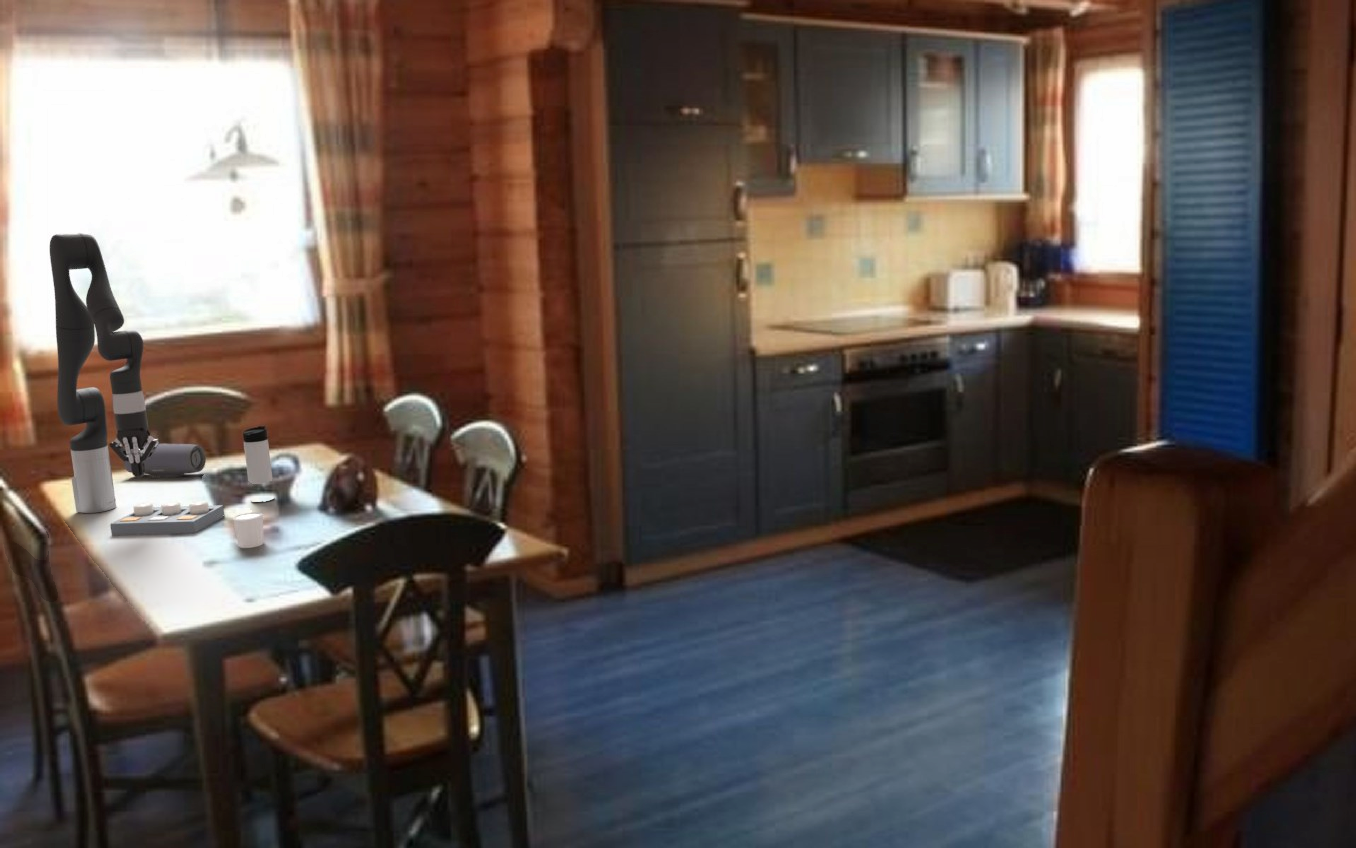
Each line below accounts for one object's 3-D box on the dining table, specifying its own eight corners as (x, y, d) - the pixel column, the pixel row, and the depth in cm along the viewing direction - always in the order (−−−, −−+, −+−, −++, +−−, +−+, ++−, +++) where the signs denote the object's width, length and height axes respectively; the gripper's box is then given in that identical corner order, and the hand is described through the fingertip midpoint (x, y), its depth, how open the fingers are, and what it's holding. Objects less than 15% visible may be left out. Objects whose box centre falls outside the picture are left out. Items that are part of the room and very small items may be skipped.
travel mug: (280, 497, 355) (272, 425, 351) (263, 503, 349) (254, 430, 345) (262, 496, 358) (254, 425, 354) (245, 502, 352) (236, 430, 348)
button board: (111, 535, 324) (110, 523, 324) (144, 518, 340) (143, 506, 339) (195, 533, 322) (193, 520, 321) (224, 516, 337) (223, 504, 337)
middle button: (159, 518, 330) (157, 507, 330) (168, 514, 335) (166, 502, 334) (176, 518, 330) (174, 506, 329) (184, 513, 334) (183, 502, 334)
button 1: (131, 519, 331) (129, 508, 331) (140, 514, 336) (139, 503, 335) (148, 519, 331) (146, 507, 330) (157, 514, 335) (155, 503, 335)
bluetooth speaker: (209, 472, 395) (205, 440, 394) (191, 479, 386) (187, 446, 385) (143, 472, 401) (139, 441, 399) (124, 479, 392) (120, 447, 390)
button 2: (187, 517, 329) (185, 506, 329) (195, 513, 334) (194, 501, 333) (204, 517, 329) (202, 505, 328) (212, 512, 333) (211, 501, 333)
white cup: (238, 550, 303) (234, 521, 302) (233, 544, 309) (230, 515, 308) (268, 545, 306) (265, 516, 305) (263, 539, 312) (260, 510, 311)
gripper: (161, 406, 331) (171, 472, 334) (113, 408, 333) (122, 474, 336) (146, 411, 324) (156, 479, 327) (97, 413, 325) (107, 481, 328)
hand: (139, 476), depth 331 cm, fingers closed
